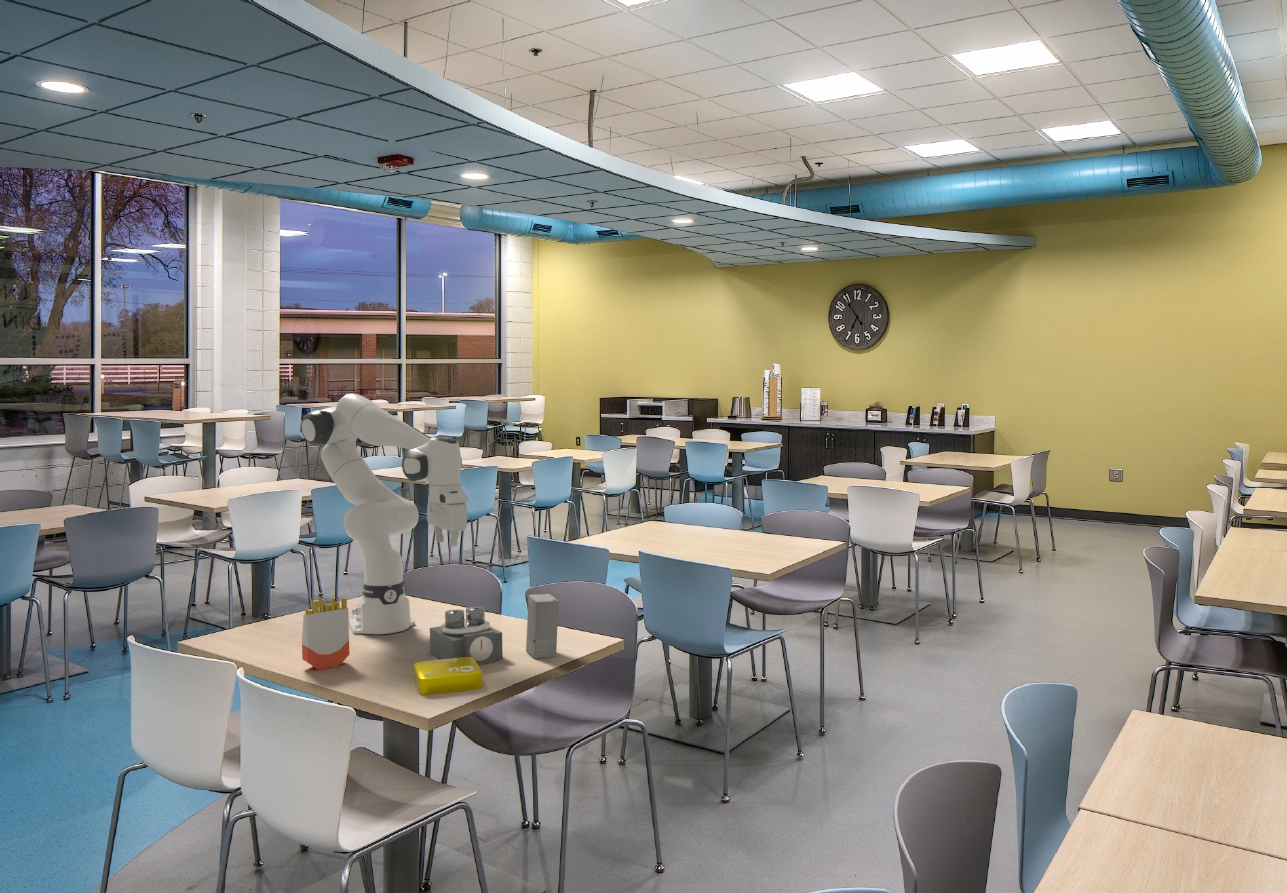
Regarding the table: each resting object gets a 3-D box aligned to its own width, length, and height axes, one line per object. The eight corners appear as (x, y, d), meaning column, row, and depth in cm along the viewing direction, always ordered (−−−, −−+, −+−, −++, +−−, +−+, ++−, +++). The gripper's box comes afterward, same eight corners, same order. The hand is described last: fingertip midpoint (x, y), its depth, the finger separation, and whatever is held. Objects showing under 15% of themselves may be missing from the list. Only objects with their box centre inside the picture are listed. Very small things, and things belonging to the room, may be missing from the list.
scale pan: (433, 627, 242) (433, 623, 242) (477, 620, 250) (477, 616, 250) (452, 638, 232) (452, 633, 232) (498, 630, 239) (497, 626, 239)
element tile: (473, 672, 228) (473, 653, 228) (483, 690, 214) (483, 670, 214) (413, 679, 223) (412, 660, 223) (419, 697, 209) (419, 677, 208)
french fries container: (302, 668, 231) (300, 599, 230) (343, 660, 238) (341, 593, 237) (308, 672, 228) (306, 602, 227) (349, 663, 235) (348, 596, 234)
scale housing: (430, 653, 244) (429, 624, 243) (477, 644, 252) (477, 616, 251) (456, 669, 229) (456, 638, 228) (506, 660, 237) (505, 630, 236)
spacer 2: (462, 622, 243) (462, 607, 243) (479, 619, 246) (479, 605, 246) (471, 626, 239) (470, 611, 239) (487, 623, 242) (487, 608, 242)
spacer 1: (442, 625, 240) (442, 611, 240) (459, 623, 243) (459, 608, 242) (449, 629, 236) (449, 614, 235) (467, 627, 238) (467, 612, 238)
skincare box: (525, 651, 245) (524, 594, 244) (550, 648, 248) (549, 592, 247) (534, 660, 237) (533, 601, 236) (559, 656, 240) (559, 598, 239)
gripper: (420, 492, 254) (421, 540, 255) (449, 498, 238) (450, 549, 238) (441, 490, 258) (442, 538, 259) (471, 496, 241) (471, 547, 242)
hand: (446, 544), depth 248 cm, fingers open, 8 cm apart
